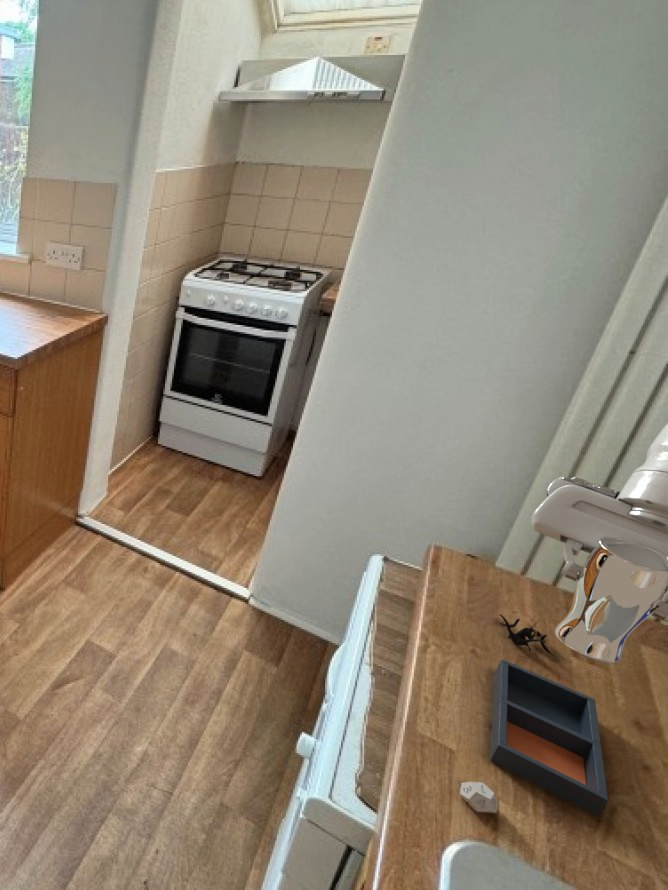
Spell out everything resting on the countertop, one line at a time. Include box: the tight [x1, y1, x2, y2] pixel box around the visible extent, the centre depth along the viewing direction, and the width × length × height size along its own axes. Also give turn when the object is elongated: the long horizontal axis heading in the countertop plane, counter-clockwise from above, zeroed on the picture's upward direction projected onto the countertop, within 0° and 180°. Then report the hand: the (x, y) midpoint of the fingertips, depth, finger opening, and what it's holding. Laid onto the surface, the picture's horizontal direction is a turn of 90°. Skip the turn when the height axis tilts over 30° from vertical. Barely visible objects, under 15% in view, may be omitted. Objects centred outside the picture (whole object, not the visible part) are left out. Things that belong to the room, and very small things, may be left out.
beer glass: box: [553, 536, 668, 664], centre depth 76 cm, size 7×7×15 cm
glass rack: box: [489, 658, 609, 817], centre depth 84 cm, size 19×10×4 cm, turn 136°
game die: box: [459, 781, 499, 814], centre depth 76 cm, size 4×4×3 cm
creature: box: [499, 614, 558, 659], centre depth 100 cm, size 8×5×8 cm
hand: (613, 597), depth 76 cm, fingers closed on beer glass, 7 cm apart
